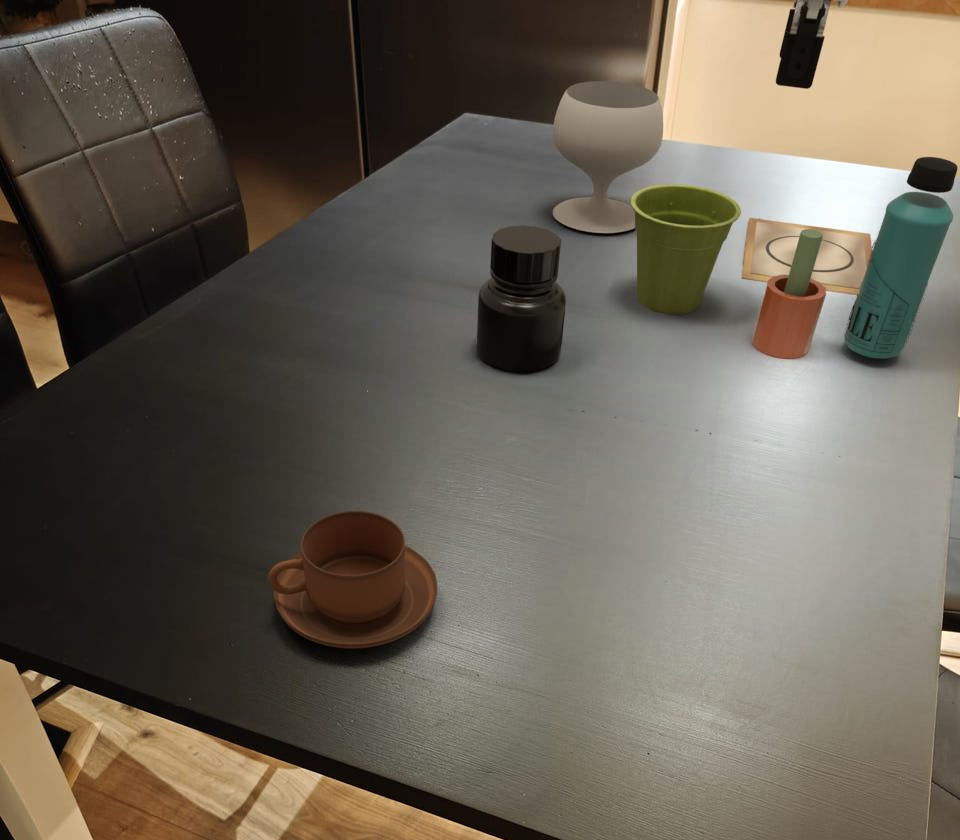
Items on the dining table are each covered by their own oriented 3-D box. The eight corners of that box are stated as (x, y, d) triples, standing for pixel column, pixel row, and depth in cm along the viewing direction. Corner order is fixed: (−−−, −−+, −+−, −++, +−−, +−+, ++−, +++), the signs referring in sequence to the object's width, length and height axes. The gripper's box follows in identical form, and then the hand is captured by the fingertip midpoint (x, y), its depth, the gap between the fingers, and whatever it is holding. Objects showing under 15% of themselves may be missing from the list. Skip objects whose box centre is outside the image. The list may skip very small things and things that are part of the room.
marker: (790, 341, 102) (823, 230, 94) (790, 351, 101) (823, 238, 92) (770, 338, 102) (801, 227, 94) (769, 348, 101) (800, 235, 93)
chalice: (621, 247, 120) (640, 119, 109) (526, 221, 125) (535, 96, 114) (665, 214, 128) (686, 92, 118) (575, 191, 133) (587, 72, 123)
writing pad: (868, 238, 125) (870, 232, 125) (875, 301, 111) (878, 295, 111) (748, 221, 128) (749, 216, 127) (740, 282, 114) (742, 275, 113)
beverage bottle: (908, 357, 102) (986, 161, 88) (882, 379, 98) (958, 178, 84) (853, 337, 105) (919, 144, 90) (825, 357, 101) (890, 159, 87)
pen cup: (806, 340, 104) (826, 278, 99) (806, 366, 99) (826, 303, 94) (752, 332, 104) (768, 270, 100) (749, 358, 100) (766, 295, 95)
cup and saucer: (326, 687, 64) (319, 623, 60) (248, 590, 71) (237, 526, 67) (468, 621, 70) (471, 557, 65) (383, 536, 76) (380, 473, 72)
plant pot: (596, 292, 110) (610, 192, 102) (678, 275, 114) (697, 178, 106) (654, 336, 103) (673, 232, 95) (739, 316, 107) (764, 215, 99)
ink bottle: (578, 351, 100) (592, 237, 91) (535, 384, 95) (545, 267, 86) (502, 324, 103) (509, 213, 95) (456, 355, 98) (459, 239, 90)
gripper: (909, -156, 69) (835, 103, 81) (897, -173, 81) (834, 55, 93) (805, -165, 70) (748, 92, 82) (808, -180, 82) (758, 46, 94)
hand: (794, 72), depth 87 cm, fingers open, 9 cm apart
